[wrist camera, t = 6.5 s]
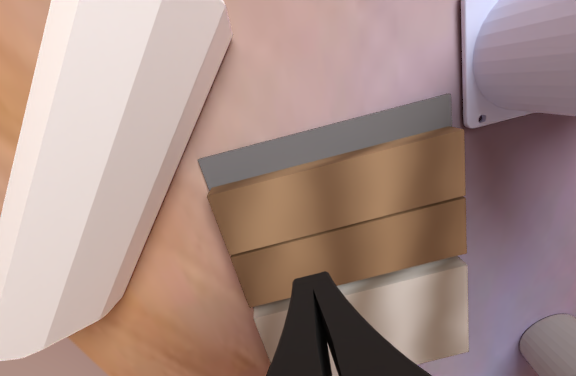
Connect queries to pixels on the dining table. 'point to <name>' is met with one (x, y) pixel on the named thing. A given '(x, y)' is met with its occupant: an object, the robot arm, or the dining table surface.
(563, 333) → the coffee cup
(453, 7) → the dining table surface
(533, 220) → the dining table surface
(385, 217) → the walnut boards
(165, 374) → the dining table surface
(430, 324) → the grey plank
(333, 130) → the underlay mat
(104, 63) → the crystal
